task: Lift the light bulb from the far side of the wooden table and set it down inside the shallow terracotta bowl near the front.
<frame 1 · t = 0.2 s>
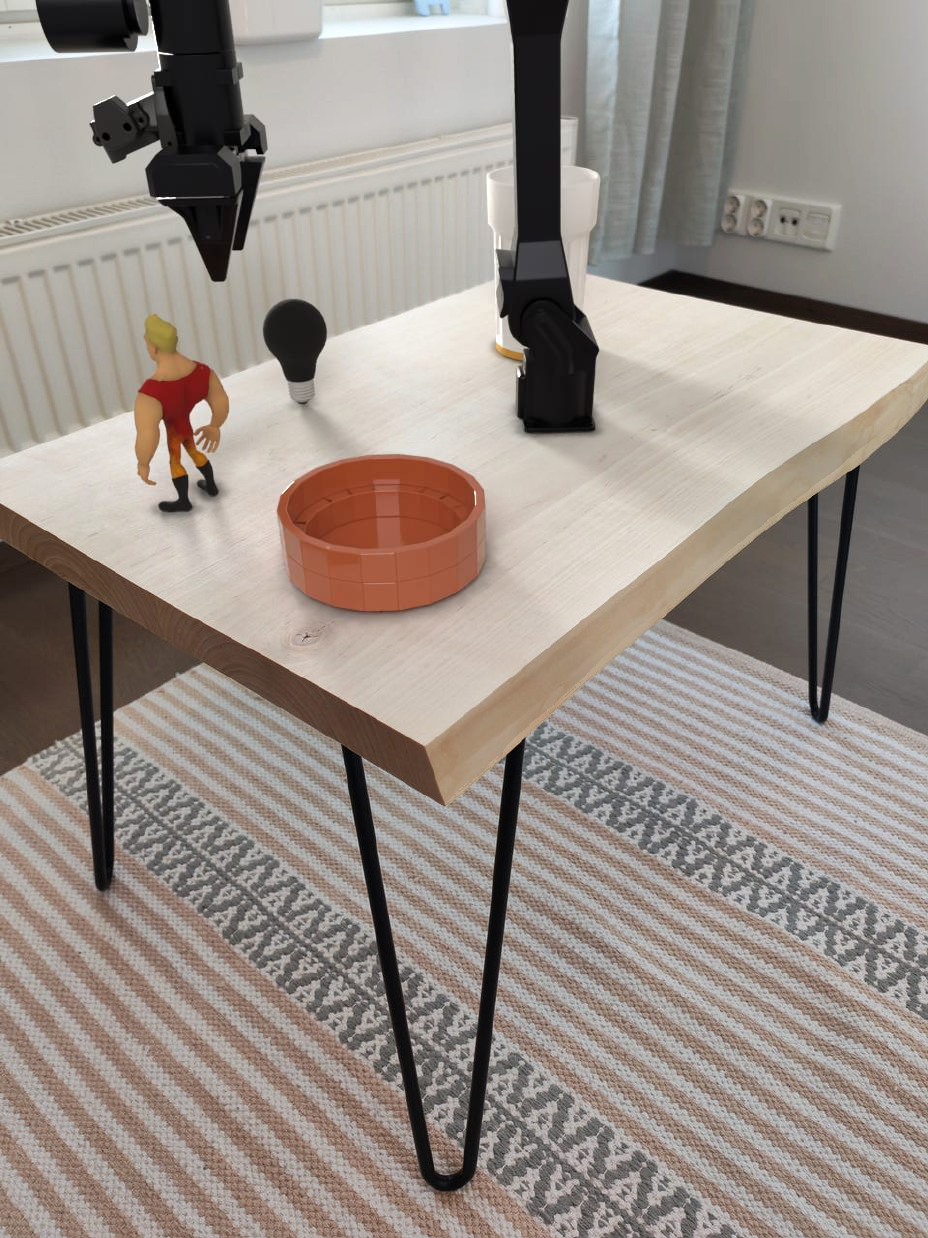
hand: (228, 264, 82), 15 cm above the table, tool pointing down, fingers open, 9 cm apart
bowl: (385, 560, 71), on the table
light bulb: (303, 405, 95), on the table
action figure: (192, 502, 79), on the table
cup: (537, 348, 107), on the table
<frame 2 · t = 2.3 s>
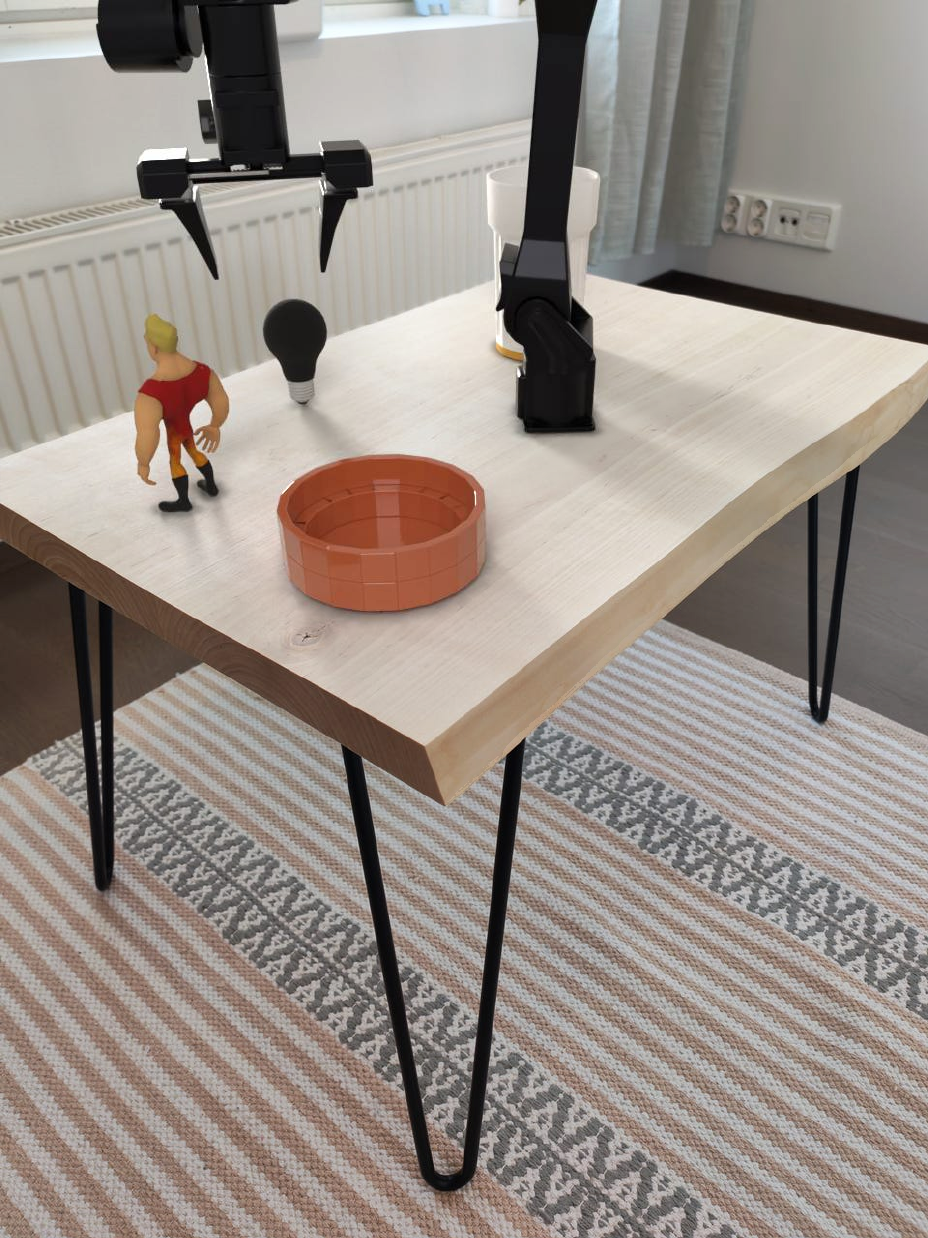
hand: (270, 274, 86), 13 cm above the table, tool pointing down, fingers open, 9 cm apart
nothing on the table moved.
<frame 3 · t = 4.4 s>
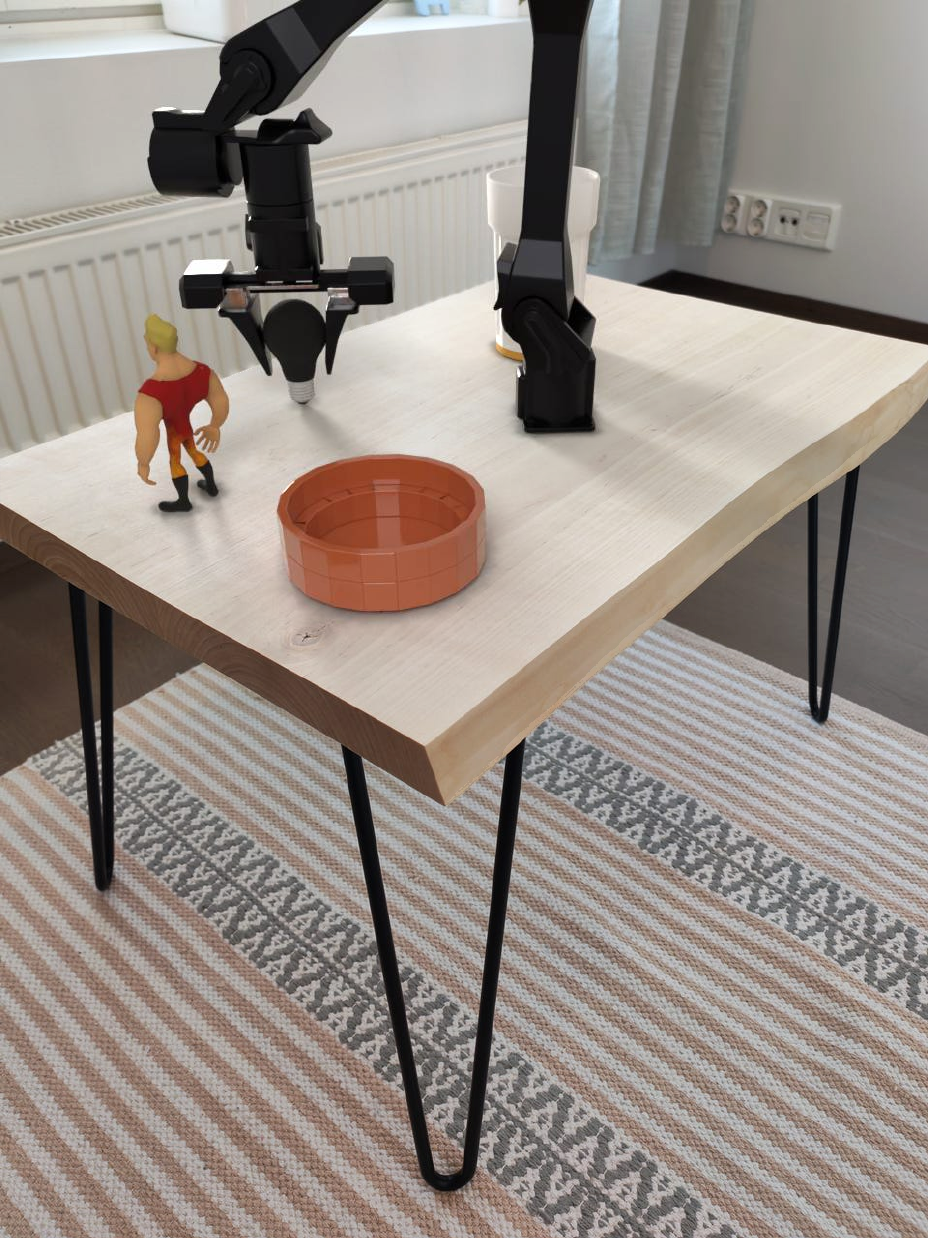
hand: (300, 373, 93), 3 cm above the table, tool pointing down, fingers closed on light bulb, 5 cm apart
light bulb: (303, 405, 95), on the table, touching gripper
everything else where it was.
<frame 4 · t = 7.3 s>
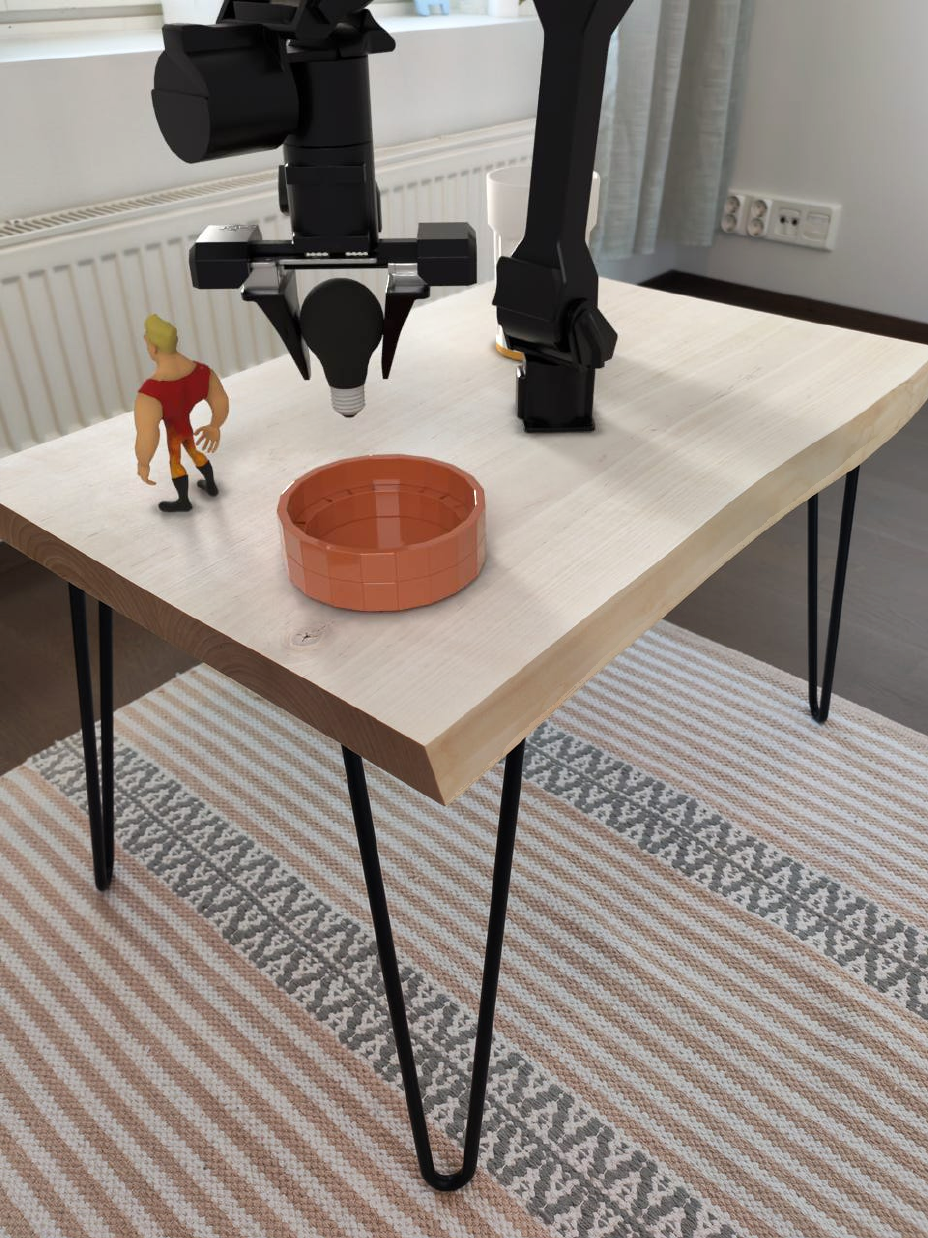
hand: (347, 377, 71), 11 cm above the table, tool pointing down, fingers closed on light bulb, 5 cm apart
light bulb: (349, 419, 72), point 8 cm above the table, touching gripper
everything else where it was.
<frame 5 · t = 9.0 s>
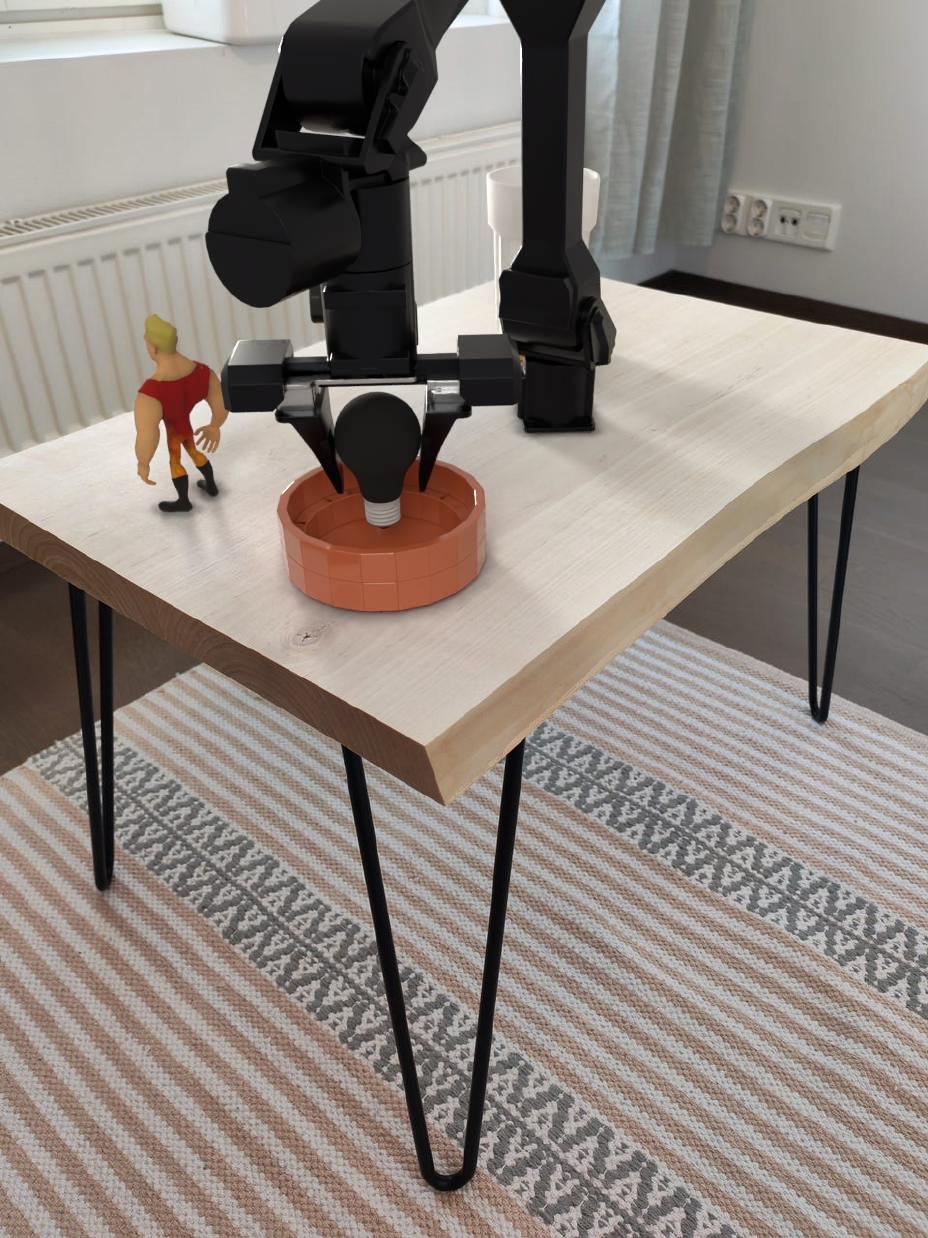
hand: (382, 490, 68), 6 cm above the table, tool pointing down, fingers closed on light bulb, 5 cm apart
light bulb: (384, 530, 70), point 2 cm above the table, touching gripper
everything else where it was.
when the fingers open (4 cm above the table, at t = 10.1 s): light bulb stays where it is, resting on bowl.
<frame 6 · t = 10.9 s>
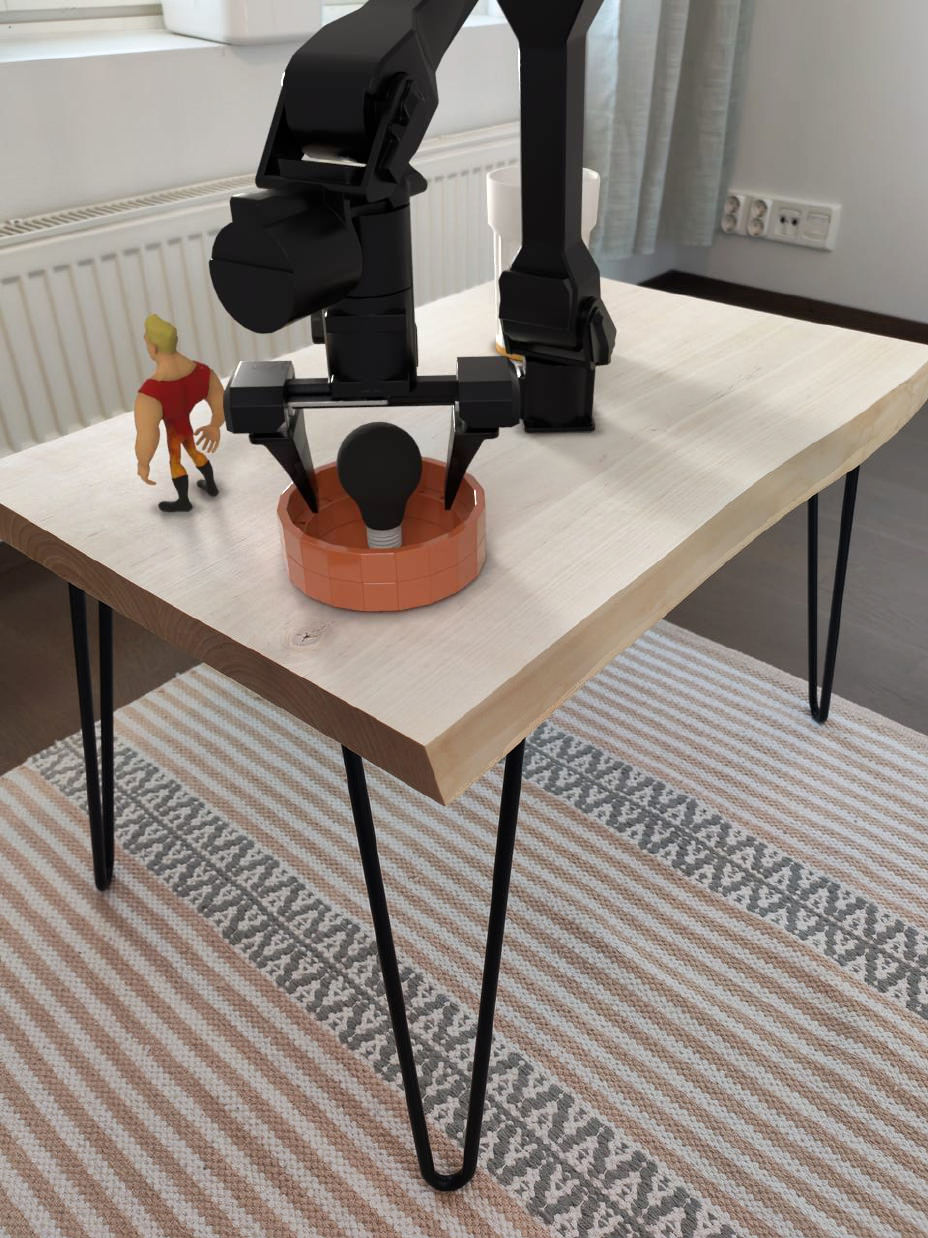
hand: (382, 509, 69), 4 cm above the table, tool pointing down, fingers open, 9 cm apart
light bulb: (385, 555, 71), resting on bowl
everything else where it was.
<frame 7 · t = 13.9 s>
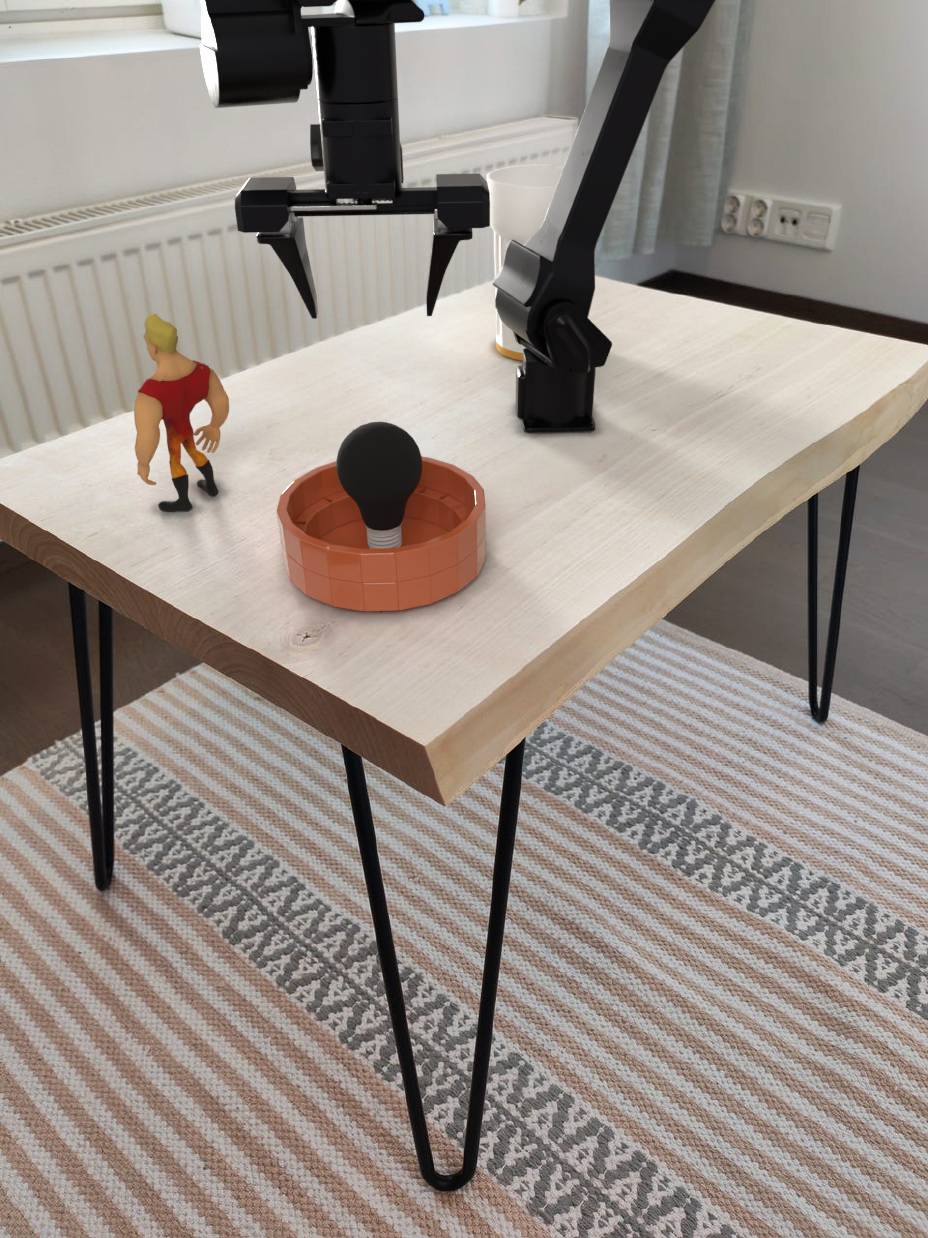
hand: (372, 315, 79), 12 cm above the table, tool pointing down, fingers open, 9 cm apart
nothing on the table moved.
at the end: light bulb inside the target area in the bowl (0.1 cm from its centre), point 0.3 cm above the bowl's base; the gripper is holding nothing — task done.
